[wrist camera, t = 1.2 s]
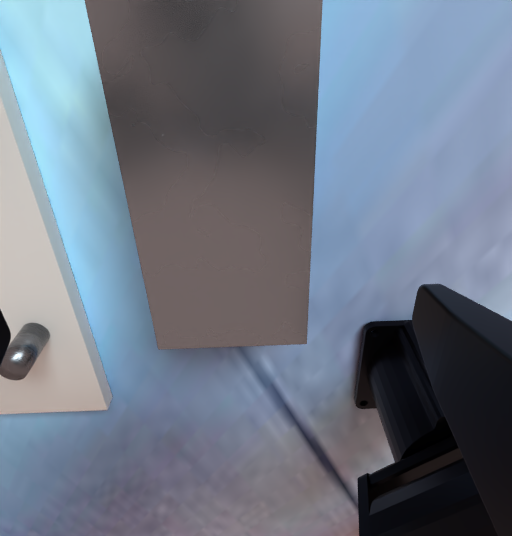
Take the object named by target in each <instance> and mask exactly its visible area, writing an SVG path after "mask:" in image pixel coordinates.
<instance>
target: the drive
mask: <svg viewBox="0 0 512 536" xmlns="http://www.w3.org/2000/svg"><path fill="white" fill-rule="evenodd" d="M85 4H86V9H87V13H88V18H89V23H90V28H91V32H92V37H93V42H94V47H95V51H96V56H97V61H98V66H99V70H100V75H101V80H102V84H103V89H104V94H105V99H106V103H107V108H108V113H109V118H110V122H111V127H112V132H113V137H114V141H115V146H116V151H117V155H118V160H119V165H120V170H121V174H122V179H123V184H124V189H125V193H126V198H127V203H128V208H129V212H130V217H131V222H132V226H133V231H134V236H135V241H136V245H137V250H138V255H139V260H140V264H141V269H142V274H143V279H144V283H145V288H146V293H147V297H148V302H149V307H150V312H151V316H152V321H153V326H154V331H155V335H156V340H157V345H158V349H184V348H210V347H237V346H264V345H290V344H307V325H308V303H309V281H310V259H311V238H312V216H313V194H314V173H315V151H316V129H317V108H318V86H319V64H320V43H321V21H322V0H85Z"/></svg>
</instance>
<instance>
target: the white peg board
mask: <svg viewBox="0 0 512 536" xmlns="http://www.w3.org/2000/svg"><path fill="white" fill-rule="evenodd" d="M0 309H1V311H2V314H3V316H4V318H5V320H6V322H7V325H8V327H9V329H10V333H11V340H10V343H9V346H8V348H7V351H6V353H5V356H4V359H3V361H2V364H1V366H0V414H17V413H43V412H69V411H95V410H108V408H109V405H110V402H111V399H112V397H113V396H112V393H111V390H110V387H109V384H108V381H107V378H106V375H105V372H104V369H103V366H102V362H101V359H100V356H99V353H98V350H97V347H96V344H95V341H94V338H93V335H92V331H91V328H90V325H89V322H88V319H87V316H86V313H85V310H84V307H83V304H82V301H81V297H80V294H79V291H78V288H77V285H76V282H75V279H74V276H73V273H72V270H71V267H70V263H69V260H68V257H67V254H66V251H65V248H64V245H63V242H62V239H61V236H60V233H59V229H58V226H57V223H56V220H55V217H54V214H53V211H52V208H51V205H50V202H49V199H48V195H47V192H46V189H45V186H44V183H43V180H42V177H41V174H40V171H39V168H38V165H37V161H36V158H35V155H34V152H33V149H32V146H31V143H30V140H29V137H28V134H27V131H26V127H25V124H24V121H23V118H22V115H21V112H20V109H19V106H18V103H17V100H16V97H15V93H14V90H13V87H12V84H11V81H10V78H9V75H8V72H7V69H6V66H5V62H4V59H3V56H2V53H1V50H0Z"/></svg>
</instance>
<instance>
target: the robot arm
mask: <svg viewBox="0 0 512 536" xmlns="http://www.w3.org/2000/svg"><path fill="white" fill-rule="evenodd" d="M373 330H377V331H375V332H371V331H373ZM10 340H11V333H10V329H9V327H8V325H7V322H6V320H5V318H4V316H3V314H2V311H1V309H0V366H1V364H2V361H3V359H4V356H5V353H6V351H7V348H8V346H9V343H10ZM354 401H355V404H356V406H357V407H358V408H360V409H369V408H377V410H378V413H379V416H380V419H381V422H382V425H383V428H384V431H385V434H386V437H387V440H388V443H389V446H390V449H391V452H392V455H393V458H394V461H395V463H393V464H391V465H389V466H387V467H384V468H382V469H380V470H378V471H376V472H374V473H372V474H369V473H367V474H365V475H363V476H361V477H359V478H358V508H359V536H512V321H510V320H509V319H507V318H505V317H503V316H501V315H499V314H497V313H495V312H493V311H491V310H489V309H488V308H486V307H484V306H482V305H480V304H478V303H476V302H474V301H472V300H470V299H468V298H467V297H465V296H463V295H461V294H459V293H457V292H455V291H453V290H451V289H449V288H447V287H445V286H444V285H441V284H423V285H421V286H420V287H419V289H418V291H417V296H416V301H415V306H414V310H413V315H412V320H401V321H375V322H370V323H368V324H366V325H365V327H364V330H363V337H362V344H361V352H360V359H359V366H358V374H357V381H356V388H355V396H354Z"/></svg>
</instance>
